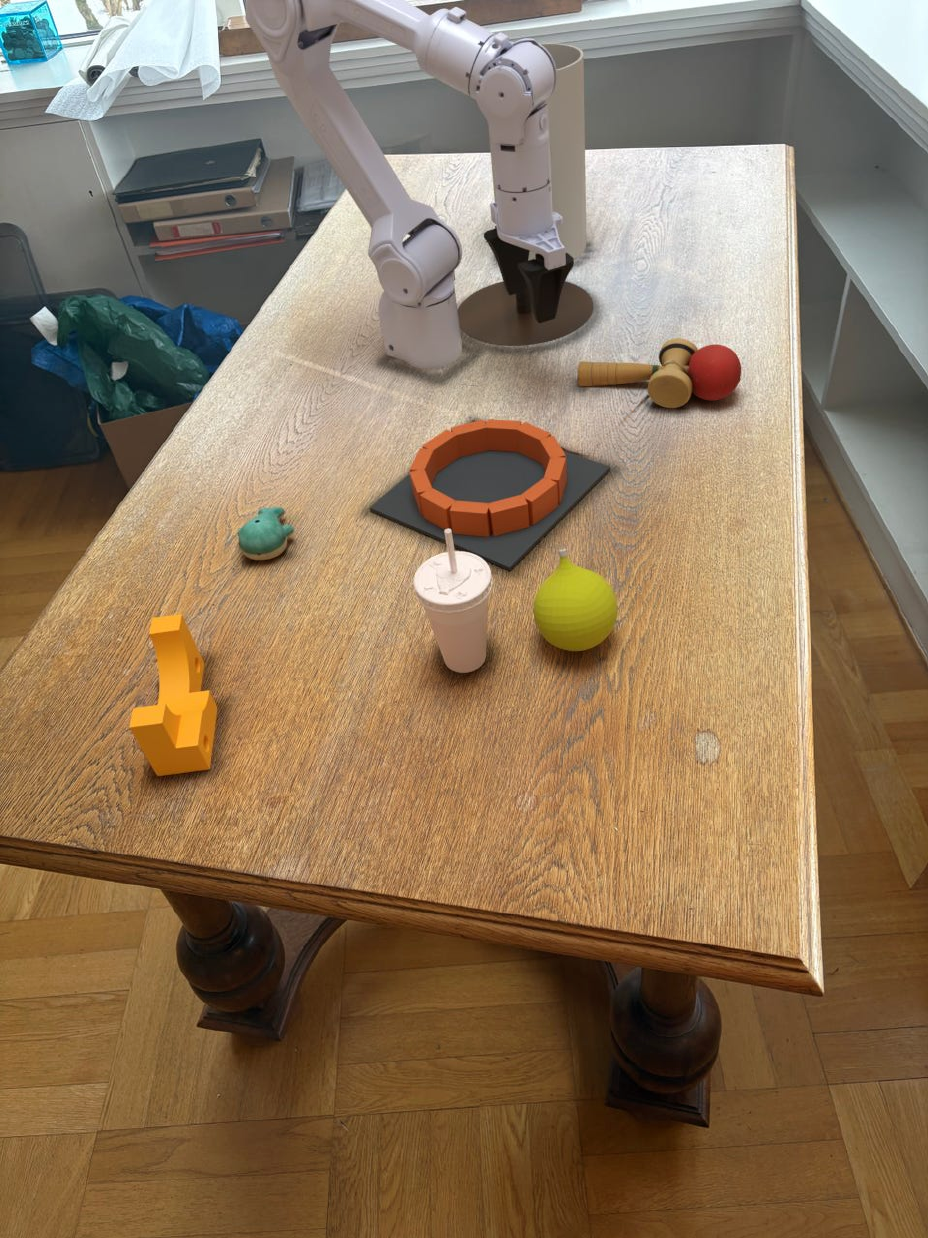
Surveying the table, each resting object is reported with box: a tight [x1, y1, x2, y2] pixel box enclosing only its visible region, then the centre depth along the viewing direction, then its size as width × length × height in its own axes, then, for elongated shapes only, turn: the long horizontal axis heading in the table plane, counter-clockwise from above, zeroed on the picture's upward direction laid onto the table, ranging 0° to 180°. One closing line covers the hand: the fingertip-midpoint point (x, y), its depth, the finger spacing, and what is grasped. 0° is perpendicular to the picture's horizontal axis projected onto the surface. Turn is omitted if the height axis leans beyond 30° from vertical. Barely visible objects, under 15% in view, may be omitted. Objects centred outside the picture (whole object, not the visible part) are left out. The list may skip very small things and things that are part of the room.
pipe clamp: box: [128, 613, 218, 777], centre depth 79 cm, size 12×4×6 cm, turn 5°
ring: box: [409, 418, 567, 537], centre depth 98 cm, size 16×16×3 cm
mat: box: [369, 419, 611, 572], centre depth 99 cm, size 18×18×1 cm
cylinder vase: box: [487, 42, 588, 261], centre depth 127 cm, size 12×12×25 cm
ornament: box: [532, 536, 618, 652], centre depth 80 cm, size 7×7×10 cm
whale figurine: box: [237, 506, 295, 561], centre depth 96 cm, size 6×7×4 cm
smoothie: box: [413, 529, 494, 674], centre depth 78 cm, size 6×6×14 cm
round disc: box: [457, 280, 595, 347], centre depth 123 cm, size 18×18×4 cm
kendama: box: [577, 337, 742, 409], centre depth 107 cm, size 8×6×18 cm
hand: (531, 305), depth 106 cm, fingers open, 7 cm apart
